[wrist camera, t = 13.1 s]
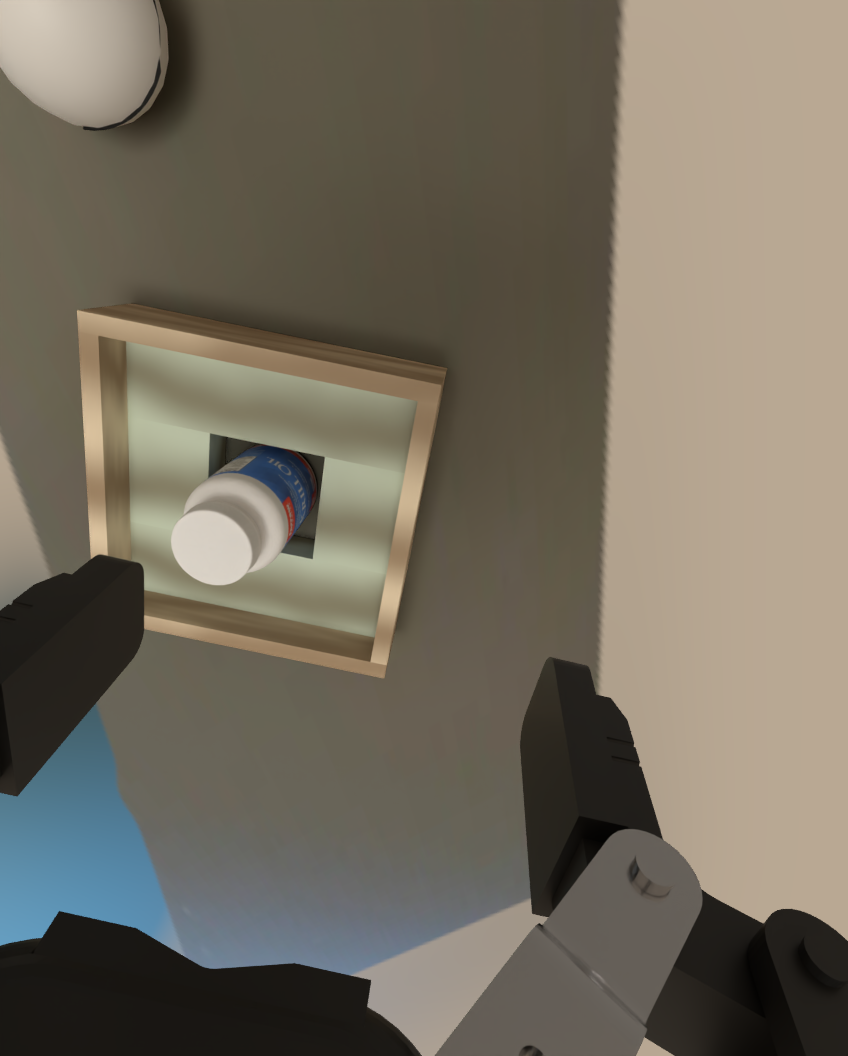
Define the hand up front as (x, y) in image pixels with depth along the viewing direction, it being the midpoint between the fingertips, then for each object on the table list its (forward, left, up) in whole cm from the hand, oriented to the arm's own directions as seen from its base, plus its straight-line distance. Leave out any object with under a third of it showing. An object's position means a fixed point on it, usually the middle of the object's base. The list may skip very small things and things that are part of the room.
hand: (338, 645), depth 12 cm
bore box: (+7, -8, -25) cm, 27 cm away
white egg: (-14, -16, -25) cm, 33 cm away
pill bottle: (+7, -8, -25) cm, 27 cm away
